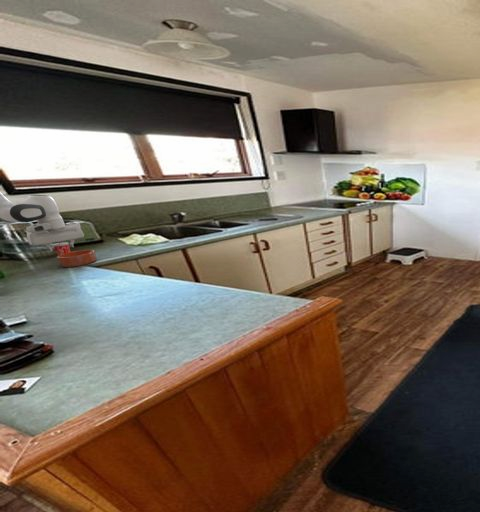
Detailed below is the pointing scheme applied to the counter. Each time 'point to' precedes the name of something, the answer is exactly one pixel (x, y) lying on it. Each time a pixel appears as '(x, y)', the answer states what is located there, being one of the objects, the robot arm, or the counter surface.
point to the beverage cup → (61, 248)
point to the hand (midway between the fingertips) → (62, 249)
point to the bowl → (77, 258)
